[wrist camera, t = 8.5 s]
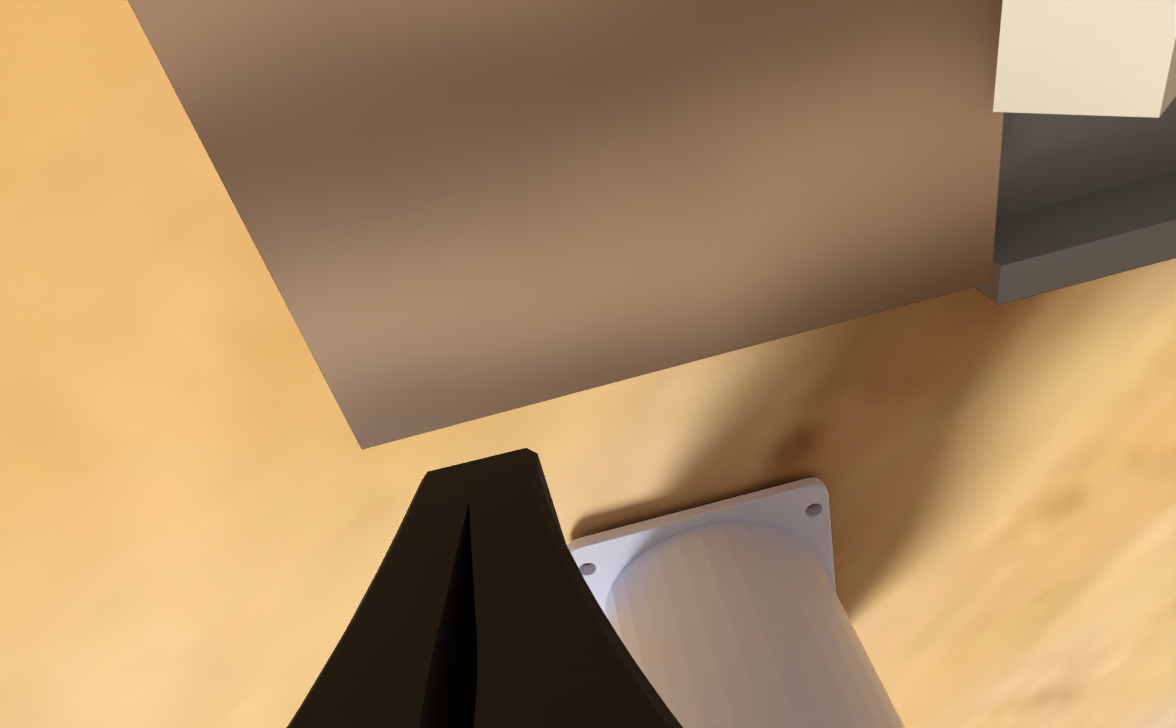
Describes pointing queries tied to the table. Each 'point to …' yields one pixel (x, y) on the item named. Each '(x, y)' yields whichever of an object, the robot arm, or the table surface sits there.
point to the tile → (1086, 57)
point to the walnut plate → (586, 178)
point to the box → (1081, 200)
